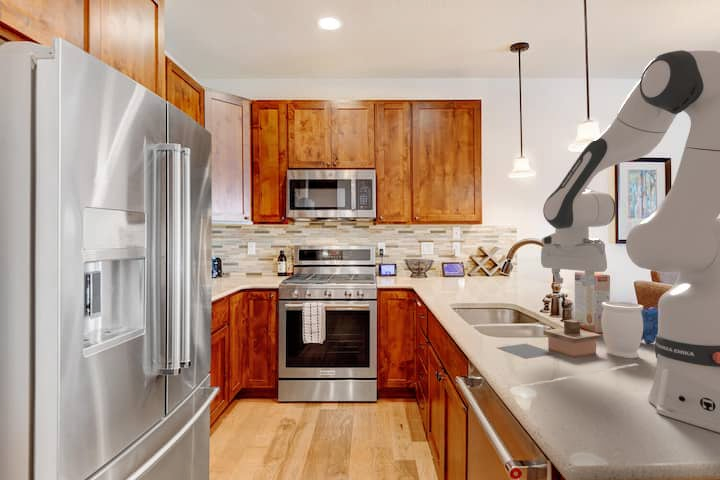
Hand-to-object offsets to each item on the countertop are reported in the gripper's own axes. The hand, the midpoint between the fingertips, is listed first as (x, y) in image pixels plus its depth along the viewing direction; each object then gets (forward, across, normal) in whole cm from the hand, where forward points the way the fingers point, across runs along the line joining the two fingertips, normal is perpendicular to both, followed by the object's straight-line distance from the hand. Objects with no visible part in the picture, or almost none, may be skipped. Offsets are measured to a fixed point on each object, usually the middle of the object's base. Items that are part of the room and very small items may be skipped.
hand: (572, 285), depth 122 cm
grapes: (+21, -2, -32) cm, 38 cm away
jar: (+21, -7, -12) cm, 25 cm away
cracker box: (+20, +19, -33) cm, 43 cm away
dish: (+20, 0, 0) cm, 20 cm away
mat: (+20, +6, +12) cm, 24 cm away
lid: (+15, 0, 0) cm, 15 cm away
